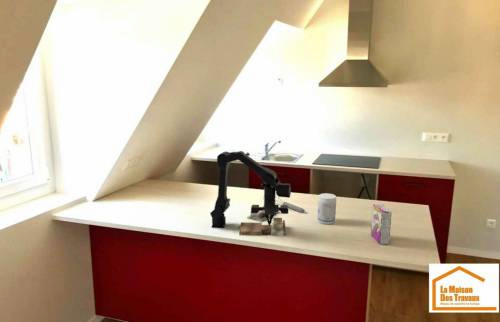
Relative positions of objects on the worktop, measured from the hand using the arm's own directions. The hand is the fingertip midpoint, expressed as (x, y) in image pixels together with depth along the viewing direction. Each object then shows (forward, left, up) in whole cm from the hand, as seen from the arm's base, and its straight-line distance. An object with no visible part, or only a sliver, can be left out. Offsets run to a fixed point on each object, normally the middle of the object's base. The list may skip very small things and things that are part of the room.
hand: (269, 225), depth 190 cm
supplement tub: (+31, +14, -3) cm, 34 cm away
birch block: (+4, 0, -1) cm, 4 cm away
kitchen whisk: (+9, +38, -4) cm, 39 cm away
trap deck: (-4, 0, -3) cm, 5 cm away
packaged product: (-3, +22, -4) cm, 23 cm away
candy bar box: (+53, -9, -3) cm, 54 cm away
